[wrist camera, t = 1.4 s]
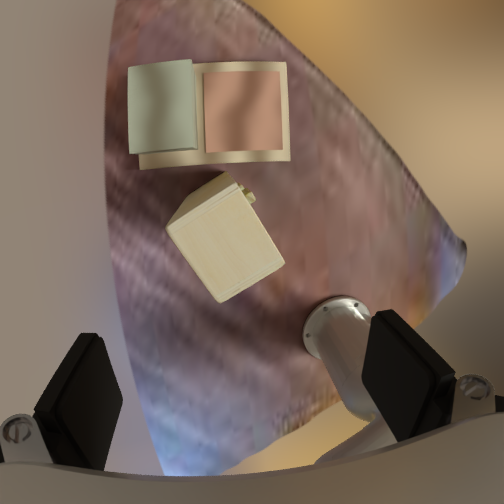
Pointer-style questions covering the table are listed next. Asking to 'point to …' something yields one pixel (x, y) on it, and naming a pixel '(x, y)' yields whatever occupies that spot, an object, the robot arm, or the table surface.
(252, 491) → the robot arm
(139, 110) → the board
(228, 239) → the toy refrigerator
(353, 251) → the table surface
